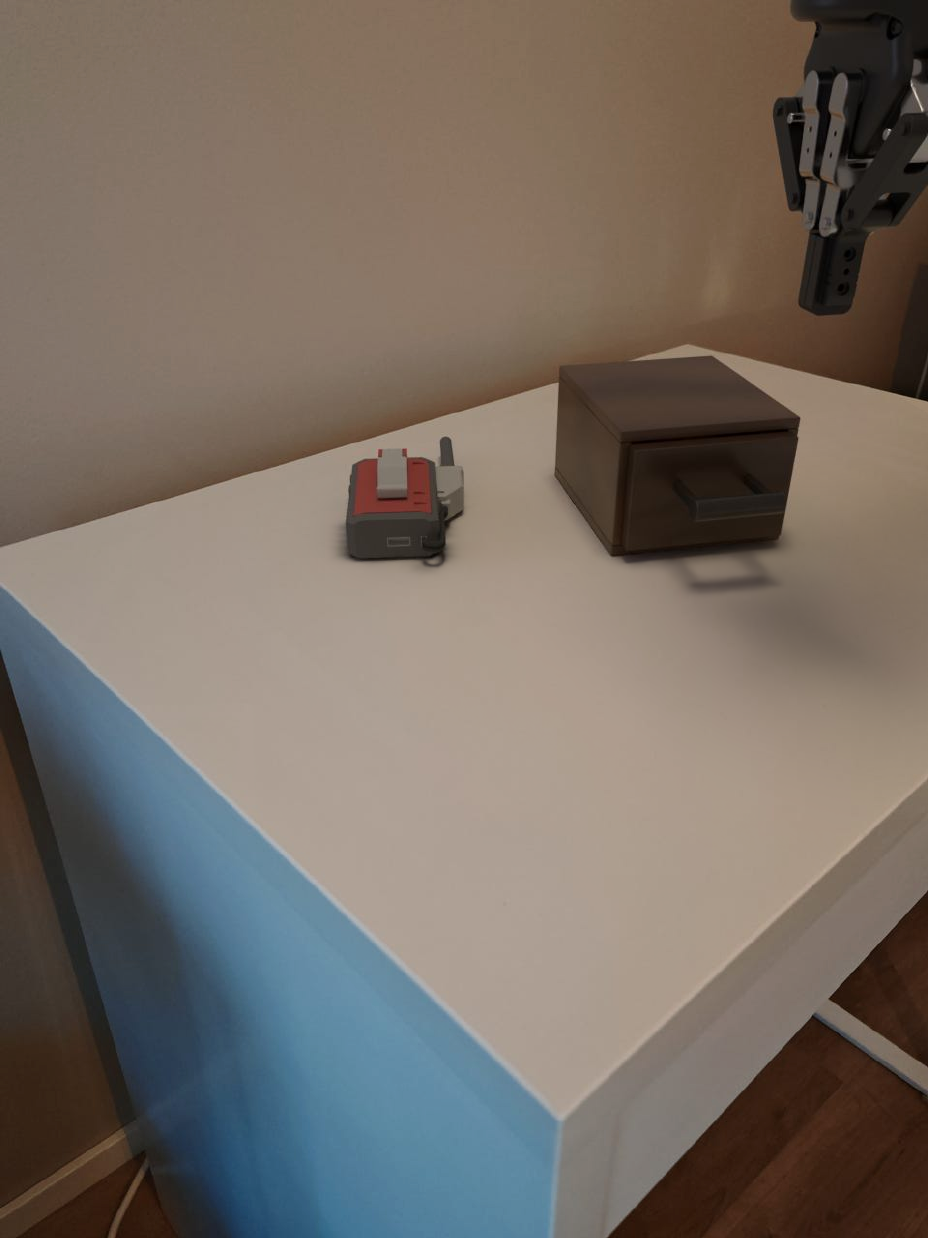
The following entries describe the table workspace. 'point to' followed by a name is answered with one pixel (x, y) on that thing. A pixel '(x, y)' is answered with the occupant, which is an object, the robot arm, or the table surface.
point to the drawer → (707, 489)
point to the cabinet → (647, 426)
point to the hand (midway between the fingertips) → (822, 310)
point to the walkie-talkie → (402, 503)
